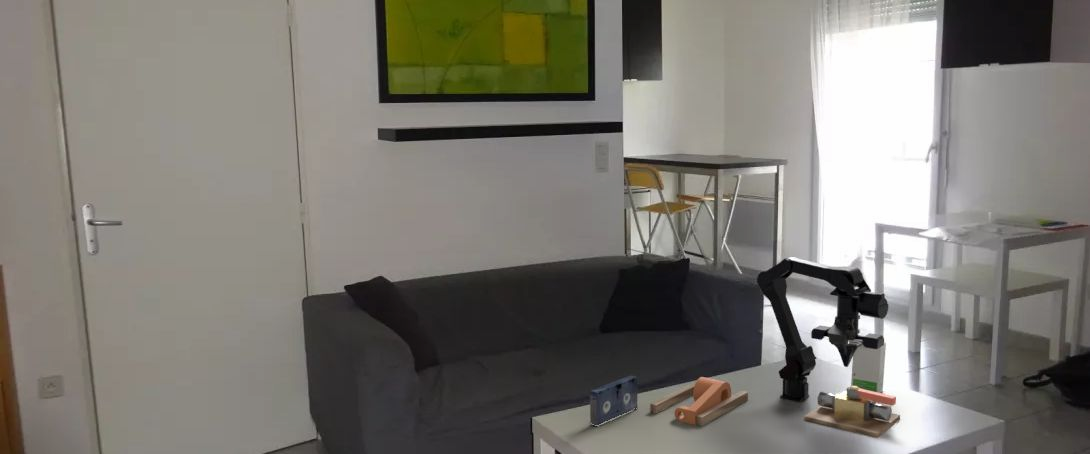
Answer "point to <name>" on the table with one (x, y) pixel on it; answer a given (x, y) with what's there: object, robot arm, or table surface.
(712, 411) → the pair of wooden rails
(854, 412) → the valve
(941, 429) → the table surface
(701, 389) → the crank
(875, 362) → the skincare box
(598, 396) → the vhs cassette tape
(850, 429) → the board
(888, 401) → the lever
